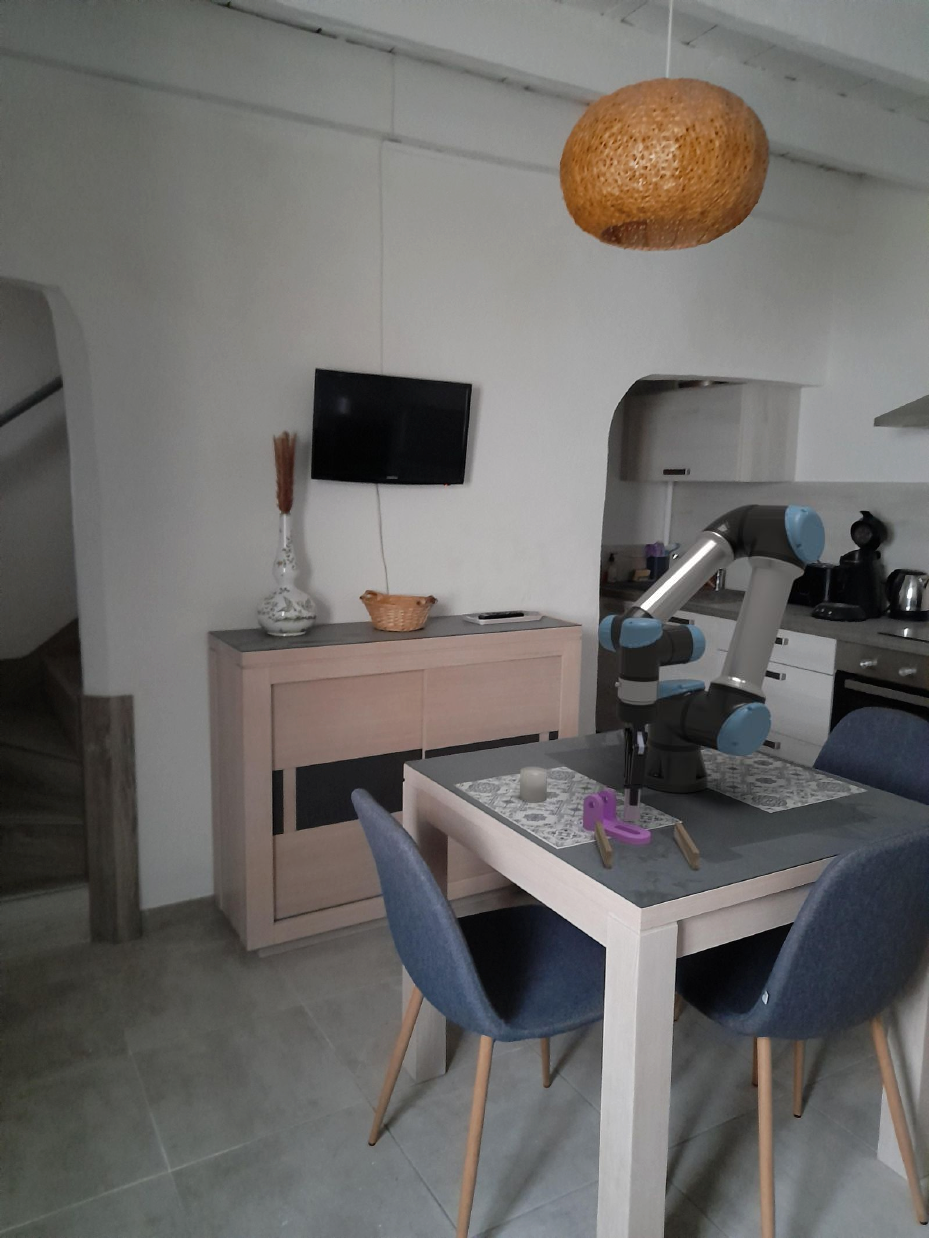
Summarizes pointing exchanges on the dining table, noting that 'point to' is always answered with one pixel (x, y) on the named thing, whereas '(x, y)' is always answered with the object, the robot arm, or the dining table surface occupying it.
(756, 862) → the dining table surface
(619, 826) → the bracket
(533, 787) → the white pillar candle
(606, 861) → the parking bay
